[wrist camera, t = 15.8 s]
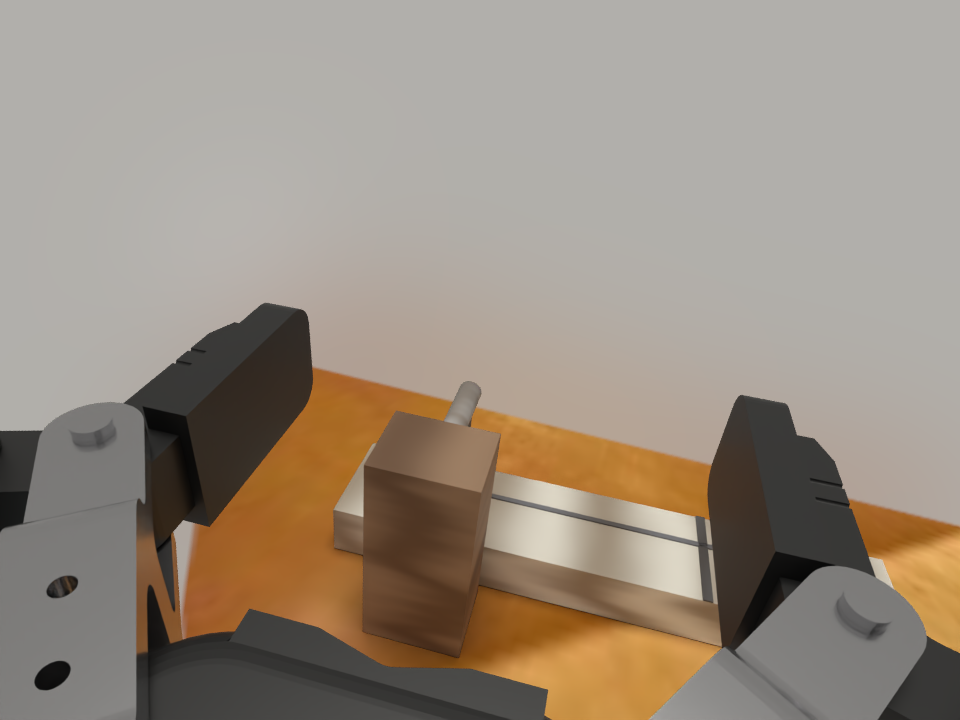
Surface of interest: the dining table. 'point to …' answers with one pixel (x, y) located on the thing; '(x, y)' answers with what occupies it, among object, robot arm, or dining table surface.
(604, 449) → the dining table surface
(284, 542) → the dining table surface
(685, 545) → the batten
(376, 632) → the upright wooden pillar
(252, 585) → the dining table surface
